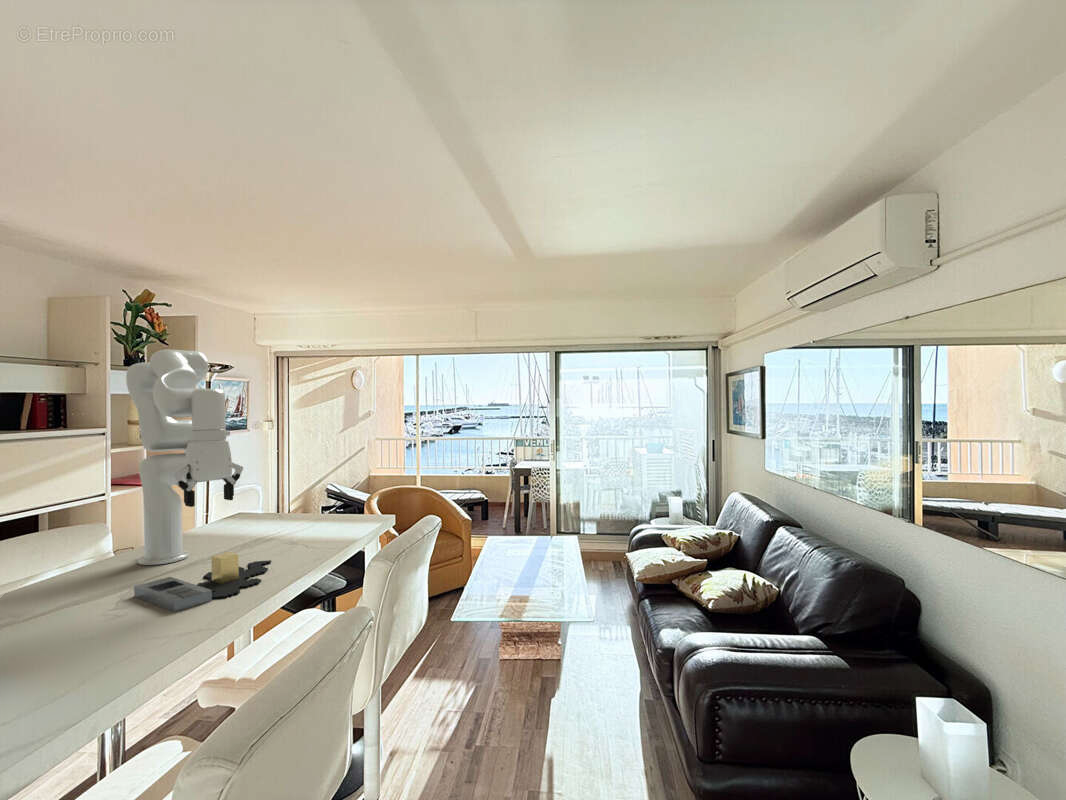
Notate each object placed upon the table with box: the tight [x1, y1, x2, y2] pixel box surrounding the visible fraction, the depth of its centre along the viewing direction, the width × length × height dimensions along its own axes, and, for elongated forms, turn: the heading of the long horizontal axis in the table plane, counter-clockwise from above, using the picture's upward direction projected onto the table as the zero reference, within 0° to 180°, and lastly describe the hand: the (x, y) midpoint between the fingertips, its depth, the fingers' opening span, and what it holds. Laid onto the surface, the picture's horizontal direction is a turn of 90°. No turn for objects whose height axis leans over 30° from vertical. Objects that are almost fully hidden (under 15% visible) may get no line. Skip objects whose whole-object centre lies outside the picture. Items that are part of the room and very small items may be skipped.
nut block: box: [211, 551, 240, 584], centre depth 141 cm, size 4×4×7 cm
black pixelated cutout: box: [196, 559, 272, 601], centre depth 143 cm, size 16×1×30 cm
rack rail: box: [133, 576, 213, 613], centre depth 129 cm, size 20×8×3 cm, turn 58°
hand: (209, 502), depth 140 cm, fingers open, 9 cm apart
